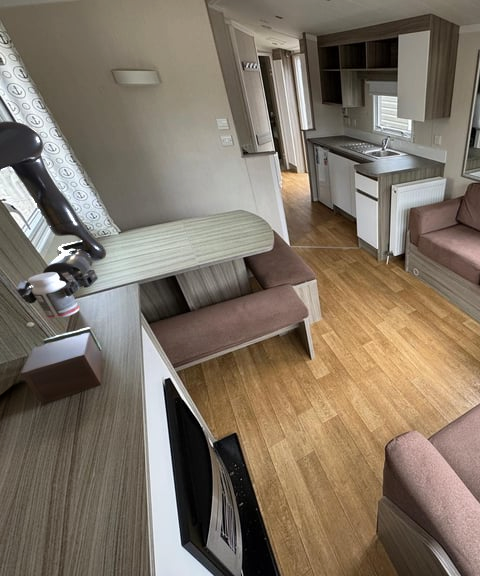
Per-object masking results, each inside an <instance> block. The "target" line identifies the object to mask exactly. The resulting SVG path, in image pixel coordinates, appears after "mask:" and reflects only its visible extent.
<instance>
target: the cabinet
mask: <svg viewBox="0 0 480 576" xmlns="http://www.w3.org/2000/svg"><path fill="white" fill-rule="evenodd" d="M104 367H105V359H104V357H103V355H102V353H101V351H99V349H98V347H97V345H96V344H95V342H94V340H93V338H92V336H91V334H90V333H85V334H82V335H78V336H74V337H70V338H67V339H63V340H59V341H55V342H52V343H48V344H45V343H44V344H41V345H37V346H33V347H32V350H31V351H30V353H29V355H28V357H27V359H26V361H25V363H24V366H23V368H22V370H21V372H20V375H21V377H22V378H23V380H24V381H25V382H26V384H27V385H28V387H29V388H30V389H31V390H32V392H33V394H34V395H35V397H36V398H37V399H38V400H39V402H40V403H41V405H45V404H48V403H52V402H54V401H57V400H60V399H63V398H67V397H68V396H72V395H74V394H78V393H80V392H81V393H82V392H83V391H87V390H89V389H92V388H95V387H98V386H101V385H102V380H103V374H104Z"/></svg>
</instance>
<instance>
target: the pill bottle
mask: <svg viewBox="0 0 480 576" xmlns="http://www.w3.org/2000/svg"><path fill="white" fill-rule="evenodd" d="M59 278H60V277H59V276H58V274H57V273H56V272H49V273H43V272H42V273H39V274H35V275H33V276H30V277H29V278H28V280H27V281H28V282H30V284H31V285H33V286H34V288H33V289H32V293H33V295H34V296H35V298H36V301H37V304H38V305H39V306H40V308H41V309H42V311H43V313H44V314H45V316H46V317H47V318H48V319H50V320H57V319H58V320H59V319H63V318H67V317H70V316H72V315H74V314H76V313H77V312H79V311H80V306H79V304H78V302H77V300H76V299H75V296H74V294H73V295H72V296H67V295H66V293H65V292H64V290H63V288H64V286H65V285H66V283H65V282H63V281H60V280H59Z"/></svg>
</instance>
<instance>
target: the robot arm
mask: <svg viewBox="0 0 480 576" xmlns="http://www.w3.org/2000/svg"><path fill="white" fill-rule="evenodd" d="M43 151H44V143H43V140H42V137H41V135H40V134H39V133H38V132H37V131H36V130H35V129H34V128H32V127H30V126H29V125H27V124H24V123H21V122H17V121H11V120H10V121H9V120H8V121H5V120H4V121H0V172H1V171H3V170H5V169H7V168H10V169H11V170H12V171H13V172H14V173H15V175H16V177H17V178H18V179H19V180H20V182H21V183H22V185H23V186H24V187H25V189H26V191H27V192H28V194H29V196H30V198H31V199H32V201H33V202H34V205H35V206H36V208H37V209H38V211H39V213H40V215H41V216H42V218H43V219H44V222H45V223H46V224H47V226H48V227H49V229H50V231H51V232H52V233H53V235H55V236H58V237H68V236H72V237H73V236H74V237H76V238H78V239H80V241H75V242H71V243H66V244H62V245H61V246H59V247H58V248H57V251H56V253H57V255H58V256H57V257H55V258H54V259H53V260H52V261H51V262H50V263H49V264H48V265H47V266H46V267H44V269H43V271H42V274H43V273H49V272H56V273H57V274H58V276H59V277H60V278H59V280H60V281H63V282H65V283H66V285H65V286H64V288H63V290H64V292H65V293H66V295H67V296H72V295H73V296H74V294H76V293H77V291H79V290H80V289H81V288H89V287H91V286H92V285H93V284H94V283H95V282H96V281H97V280H98V279H99V277H98V275H97V273H96V272H95V270H94V269H91V268H92V266H93V264H94V263H96V262H100V261H103V260H104V259H105V258H106V256H107V250H106V248H105V247H104V245H102V243H101V242H100V240H98V239H97V238H96V237H94V235H92V234H91V232H89V230H88V229H87V228H86V227H85V226H84V223H82V221H81V219H80V218H79V216H78V214H77V213H76V211H75V209H74V206H72V204H71V203H70V201H69V199H68V198H67V197H66V196H65V195H64V194H63V192H62V191H61V190H60V189H59V187H58V186H57V185H56V183H55V181H54V180H53V178H52V176H51V175H50V173H49V172H48V170H47V167H46V164H45V162H44V160H43V157H42V153H43ZM33 288H34V286H33V285H31V284H30V282H29V281H28V280H21V281H20V282H19V283H18V286H17V287H16V291H17V292H18V295H19V296H20V298H21V299H22V300H24V301H25V303H28V304H34V303H36V301H37V300H36V298H35V296H34V295H33V293H32V289H33Z"/></svg>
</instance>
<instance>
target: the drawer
mask: <svg viewBox="0 0 480 576" xmlns="http://www.w3.org/2000/svg"><path fill="white" fill-rule="evenodd" d="M85 333H90V334H91V336H92V338H93V340H94V342H95V344H96V345H97V347H98V349H99V351H100V352H101V351H102V350H103V349H102V346H101V344H100V342H99V340H98V339H97V337H96V335H95V333H94V331H93V329H92V327H91V326H88V327H84V328H80V329H77V330H72V331H69V332H64V333H61V334H57V335H53V336H49V337H46V338H43V340H42V342H43V343H44V344H48V343H52V342H55V341H59V340H63V339H67V338H70V337H74V336H78V335H82V334H85Z"/></svg>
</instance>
